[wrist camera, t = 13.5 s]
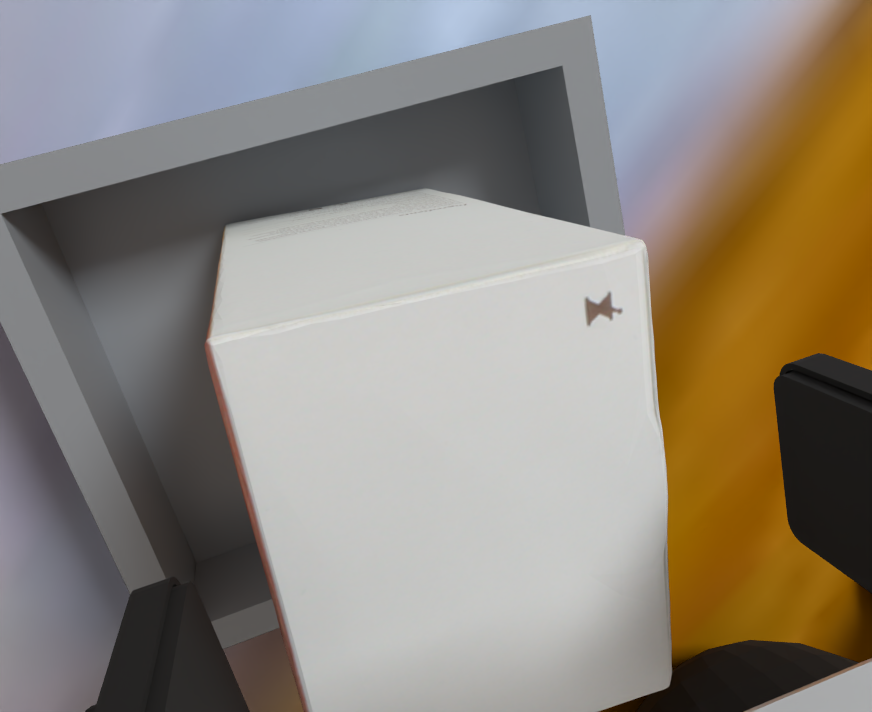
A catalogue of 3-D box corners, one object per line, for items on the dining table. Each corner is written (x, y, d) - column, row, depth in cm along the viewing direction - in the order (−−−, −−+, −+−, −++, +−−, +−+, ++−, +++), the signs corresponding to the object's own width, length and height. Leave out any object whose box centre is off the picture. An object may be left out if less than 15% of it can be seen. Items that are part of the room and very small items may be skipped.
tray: (598, 429, 27) (663, 480, 23) (178, 581, 24) (166, 670, 20) (525, 39, 22) (590, 15, 18) (-3, 174, 20) (-68, 181, 16)
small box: (219, 222, 21) (192, 328, 9) (429, 183, 22) (661, 229, 10) (281, 469, 23) (328, 819, 11) (466, 422, 25) (686, 691, 12)
